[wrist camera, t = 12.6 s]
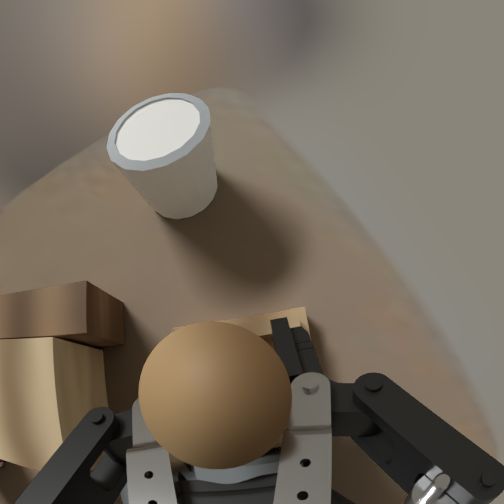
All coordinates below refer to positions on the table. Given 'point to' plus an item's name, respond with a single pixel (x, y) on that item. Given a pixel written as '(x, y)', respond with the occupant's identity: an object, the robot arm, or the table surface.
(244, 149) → the table surface
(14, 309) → the block
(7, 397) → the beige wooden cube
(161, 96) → the white cup
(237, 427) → the rounded wooden peg
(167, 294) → the table surface
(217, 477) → the tray
